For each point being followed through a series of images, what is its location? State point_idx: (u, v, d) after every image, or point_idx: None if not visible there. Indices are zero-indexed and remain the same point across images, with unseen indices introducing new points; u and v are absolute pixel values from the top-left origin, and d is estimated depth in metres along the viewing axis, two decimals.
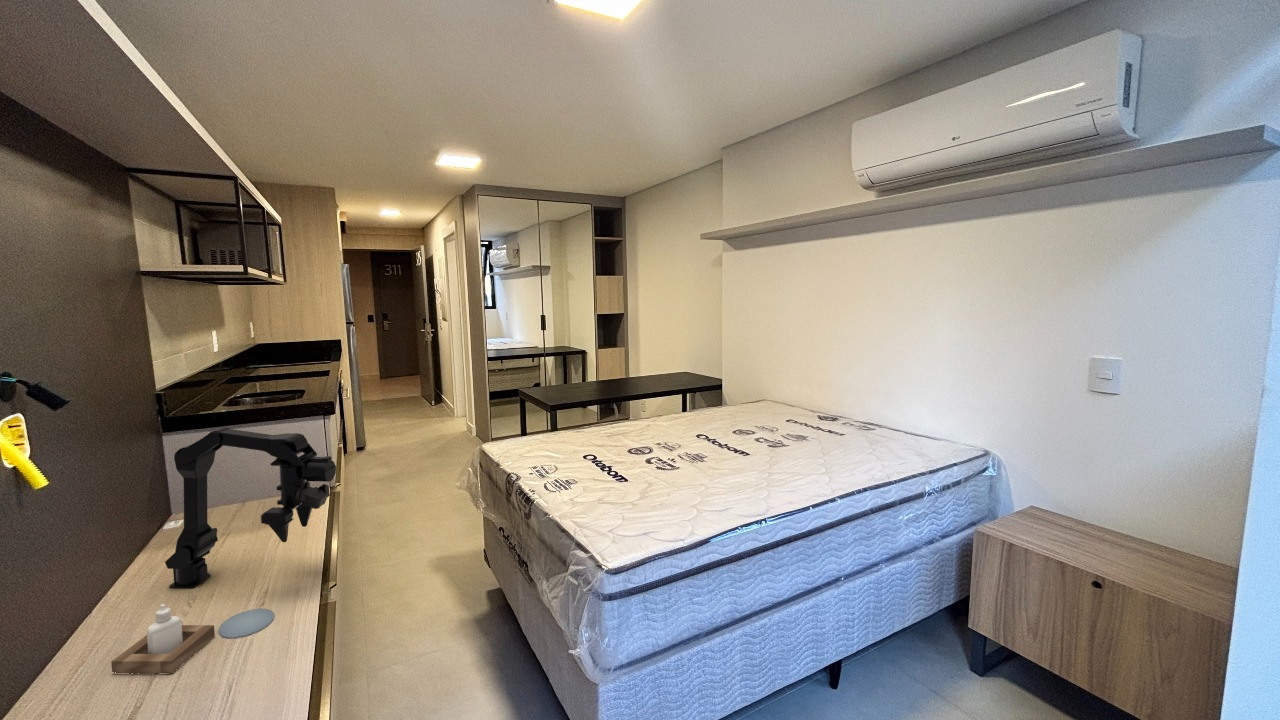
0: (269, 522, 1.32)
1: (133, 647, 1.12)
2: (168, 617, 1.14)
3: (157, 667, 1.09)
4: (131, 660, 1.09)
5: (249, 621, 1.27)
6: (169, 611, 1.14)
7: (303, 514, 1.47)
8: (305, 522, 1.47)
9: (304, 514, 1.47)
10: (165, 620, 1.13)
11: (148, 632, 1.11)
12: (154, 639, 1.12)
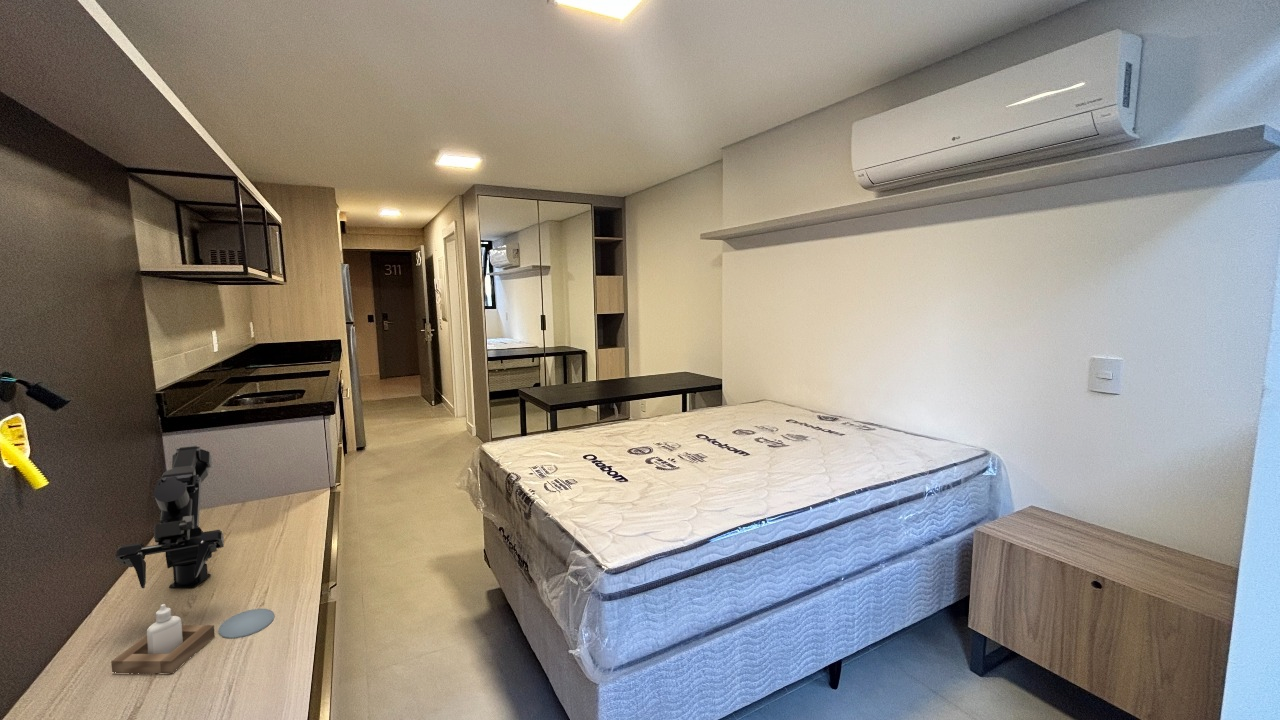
0: None
1: (133, 647, 1.12)
2: (168, 617, 1.14)
3: (157, 667, 1.09)
4: (131, 660, 1.09)
5: (249, 621, 1.27)
6: (169, 611, 1.14)
7: None
8: None
9: None
10: (165, 620, 1.13)
11: (148, 632, 1.11)
12: (154, 639, 1.12)
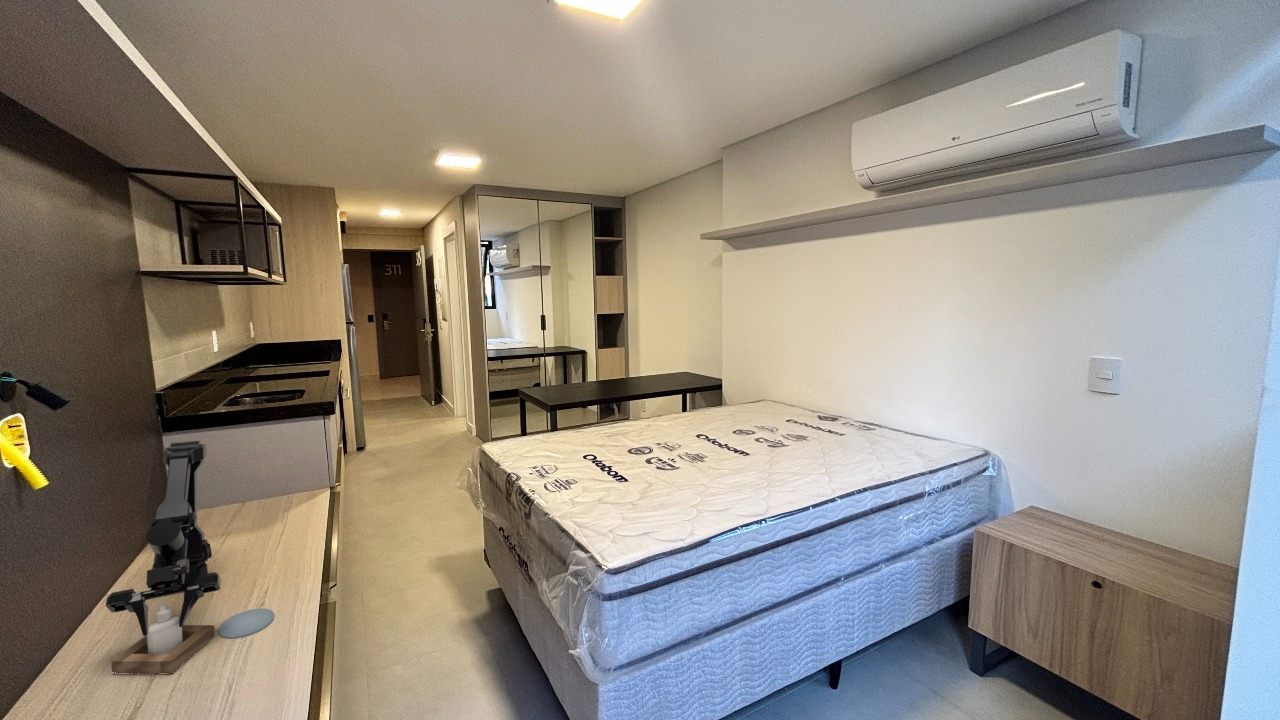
0: None
1: (133, 647, 1.12)
2: (168, 617, 1.14)
3: (157, 667, 1.09)
4: (131, 660, 1.09)
5: (249, 621, 1.27)
6: (169, 611, 1.14)
7: None
8: None
9: None
10: (165, 620, 1.13)
11: (148, 632, 1.11)
12: (154, 639, 1.12)
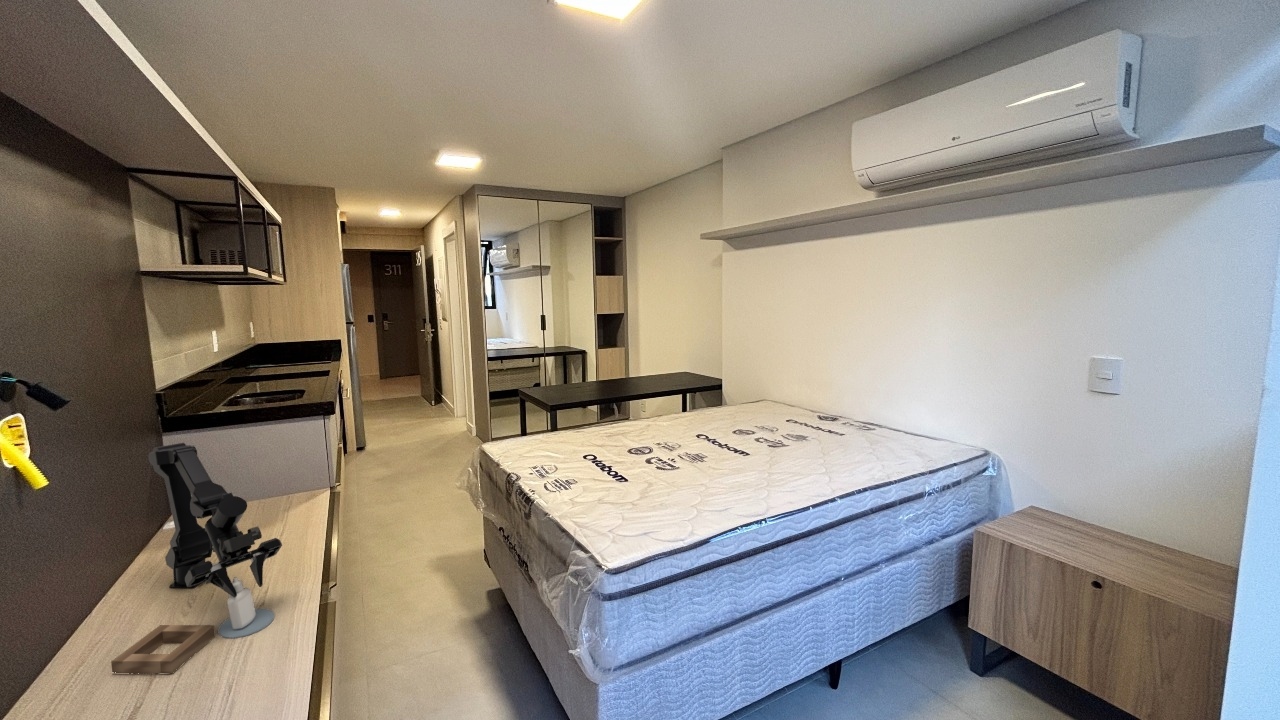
0: (188, 582, 1.19)
1: (133, 647, 1.12)
2: (243, 587, 1.25)
3: (157, 667, 1.09)
4: (131, 660, 1.09)
5: None
6: None
7: (256, 573, 1.28)
8: (258, 581, 1.27)
9: (256, 573, 1.28)
10: (242, 589, 1.24)
11: (231, 602, 1.22)
12: (239, 607, 1.23)
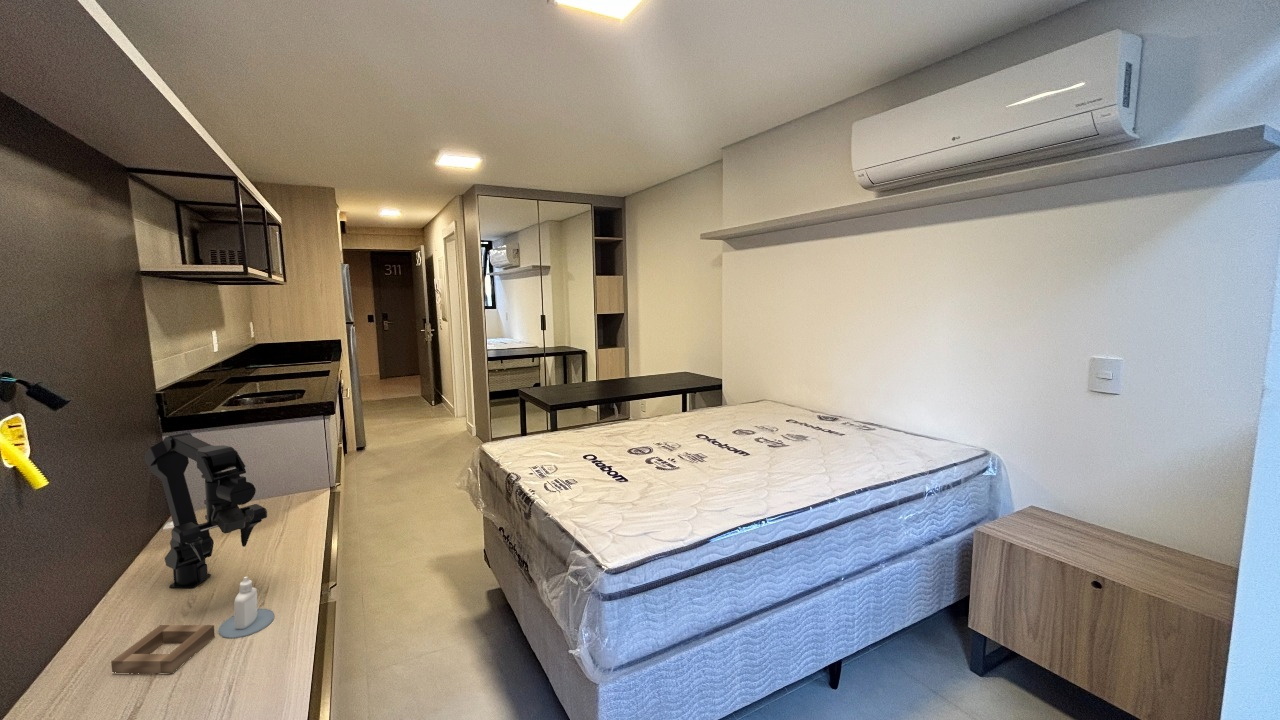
0: (174, 538, 1.25)
1: (133, 647, 1.12)
2: (251, 587, 1.25)
3: (157, 667, 1.09)
4: (131, 660, 1.09)
5: None
6: (251, 581, 1.26)
7: (244, 532, 1.38)
8: (243, 542, 1.37)
9: (243, 533, 1.37)
10: (250, 589, 1.25)
11: (239, 602, 1.22)
12: (245, 607, 1.23)
